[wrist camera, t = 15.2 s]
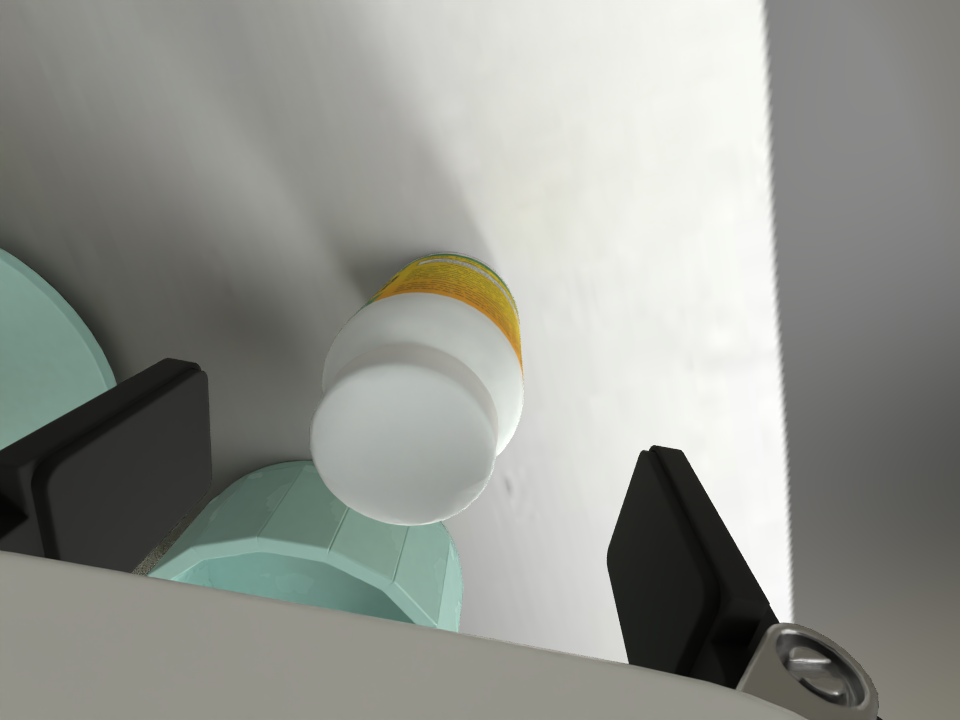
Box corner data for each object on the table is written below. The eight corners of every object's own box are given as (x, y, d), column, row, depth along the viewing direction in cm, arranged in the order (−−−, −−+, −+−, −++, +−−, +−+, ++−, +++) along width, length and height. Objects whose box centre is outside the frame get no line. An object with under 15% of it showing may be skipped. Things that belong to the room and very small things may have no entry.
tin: (192, 437, 22) (109, 511, 18) (482, 486, 22) (475, 573, 18) (206, 642, 27) (143, 742, 22) (443, 681, 27) (429, 789, 23)
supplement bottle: (496, 397, 21) (486, 579, 12) (369, 360, 20) (260, 519, 11) (538, 272, 19) (564, 378, 10) (398, 229, 18) (293, 299, 9)
